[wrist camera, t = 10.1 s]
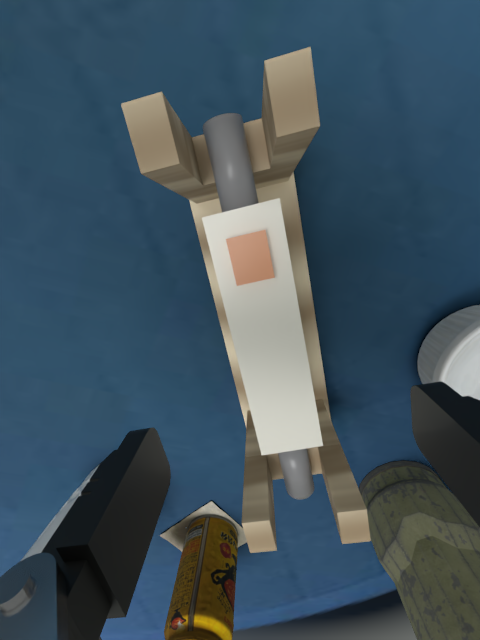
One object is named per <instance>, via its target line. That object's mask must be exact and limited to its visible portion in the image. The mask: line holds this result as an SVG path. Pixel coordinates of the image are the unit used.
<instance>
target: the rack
mask: <svg viewBox="0 0 480 640" xmlns="http://www.w3.org/2000/svg"><path fill="white" fill-rule="evenodd" d="M121 106H122V109H123V113H124V116H125V120H126V123H127V127H128V130H129V134H130V137H131V141H132V144H133V147H134V151H135V154H136V158H137V161H138V165H139V168H140V172H141V174H142V175H144V176H146V177H148V178H150V179H152V180H154V181H155V182H157V183H159V184H161V185H163V186H165V187H167V188H168V189H170V190H172V191H174V192H176V193H178V194H180V195H181V196H183V197H185V198H187V199H189V201H190V205H191V209H192V213H193V217H194V221H195V225H196V229H197V233H198V237H199V241H200V245H201V249H202V253H203V257H204V261H205V265H206V269H207V273H208V277H209V281H210V285H211V289H212V293H213V297H214V301H215V305H216V309H217V313H218V317H219V321H220V325H221V329H222V333H223V337H224V341H225V345H226V349H227V353H228V357H229V361H230V365H231V369H232V373H233V377H234V381H235V385H236V389H237V393H238V397H239V401H240V405H241V409H242V413H243V417H244V421H245V425H246V449H245V469H244V489H243V509H242V526H243V529H244V533H245V536H246V540H247V543H248V546H249V550H250V553H255V552H265V551H276V550H277V545H276V530H275V515H274V500H273V485H272V480H274V479H282V478H284V477H283V473H282V468H281V464H280V460H279V455H278V453H275V454H268V455H261V451H260V447H259V443H258V439H257V435H256V431H255V427H254V423H253V419H252V415H251V411H250V407H249V403H248V399H247V395H246V391H245V387H244V383H243V379H242V375H241V372H240V368H239V364H238V360H237V356H236V352H235V348H234V344H233V340H232V336H231V332H230V328H229V324H228V320H227V316H226V312H225V308H224V304H223V300H222V296H221V292H220V288H219V284H218V280H217V276H216V272H215V268H214V264H213V260H212V256H211V252H210V249H209V245H208V241H207V237H206V233H205V229H204V225H203V221H202V217H206V216H210V215H214V214H218V213H222V209H221V205H220V201H219V196H218V192H217V188H216V183H215V179H214V175H213V170H212V166H211V162H210V157H209V153H208V149H207V144H206V140H205V136H204V134H203V135H200V136H196V137H191V136H190V134H189V133H188V131H187V130H186V128H185V126H184V125H183V123H182V122H181V120H180V119H179V117H178V116H177V114H176V113H175V111H174V110H173V108H172V107H171V105H170V104H169V102H168V101H167V99H166V98H165V96H164V94H163V93H162V92H159V93H155V94H152V95H149V96H145V97H142V98H139V99H135V100H132V101H129V102H125V103H122V104H121ZM243 125H244V130H245V136H246V141H247V146H248V151H249V156H250V161H251V166H252V171H253V176H254V181H255V187H256V192H257V197H258V202H259V203H262V202H266V201H270V200H274V199H278V198H280V203H281V209H282V215H283V220H284V226H285V232H286V237H287V243H288V249H289V254H290V260H291V266H292V271H293V277H294V283H295V288H296V294H297V300H298V305H299V311H300V317H301V323H302V328H303V334H304V340H305V345H306V351H307V357H308V362H309V368H310V374H311V379H312V385H313V391H314V396H315V402H316V408H317V413H318V419H319V425H320V431H321V436H322V442H323V446H319V447H313V448H307V452H308V457H309V462H310V467H311V472H312V475H313V474H321V473H322V474H323V477H324V481H325V484H326V488H327V492H328V495H329V499H330V502H331V506H332V509H333V513H334V517H335V520H336V524H337V527H338V531H339V535H340V538H341V542H342V544H347V543H357V542H368V541H371V540H370V532H369V523H368V515H367V509H366V506H365V504H364V501H363V499H362V496H361V494H360V491H359V489H358V486H357V484H356V481H355V479H354V477H353V474H352V472H351V469H350V467H349V464H348V462H347V459H346V457H345V454H344V452H343V449H342V447H341V444H340V442H339V439H338V437H337V435H336V432H335V430H334V427H333V425H332V422H331V417H330V411H329V404H328V397H327V391H326V384H325V377H324V371H323V364H322V358H321V351H320V344H319V338H318V331H317V324H316V318H315V311H314V304H313V298H312V291H311V285H310V278H309V271H308V265H307V258H306V251H305V245H304V238H303V232H302V225H301V218H300V212H299V205H298V198H297V192H296V185H295V178H294V172H293V171H294V170H295V168H296V166H297V165H298V163H299V161H300V159H301V158H302V156H303V154H304V153H305V151H306V149H307V147H308V146H309V144H310V142H311V141H312V139H313V137H314V135H315V134H316V132H317V130H318V129H319V127H320V121H319V113H318V105H317V97H316V88H315V80H314V72H313V64H312V55H311V47H308V48H305V49H302V50H298V51H295V52H292V53H288V54H285V55H282V56H278V57H275V58H272V59H268V60H265V61H264V79H263V100H262V118H261V119H257V120H254V121H250V122H246V123H243Z"/></svg>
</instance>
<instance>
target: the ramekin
mask: <svg viewBox="0 0 480 640" xmlns="http://www.w3.org/2000/svg"><path fill="white" fill-rule="evenodd" d="M417 364H418V373H419V377H420V379H421V382H422V384H427V383H433V382H439V381H441V382H444V383H446V384H447V385H448V386H449V387H451V388H452V389H453V390H455V391H456V392H457V393H458V394H460V395H461V396H462V397H463V396H470V397H473V398H475V399H478V400H480V305H474V306H471V307H467V308H464V309H462V310H459V311H456V312H455V313H453V314H450V315H449V316H448V317H446V318H444V319H443V320H441V321H440V322H439V323H438V324H436V325H435V327H434V328H433V329H431V331H430V332H429V333H428V335H427V336H426V338H425V340H424V341H423V343H422V346H421V348H420V351H419V354H418V361H417Z"/></svg>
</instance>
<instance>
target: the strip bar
mask: <svg viewBox="0 0 480 640" xmlns="http://www.w3.org/2000/svg"><path fill="white" fill-rule="evenodd" d="M203 132H204V136H205V140H206V144H207V149H208V153H209V157H210V162H211V166H212V170H213V175H214V179H215V183H216V188H217V192H218V196H219V201H220V205H221V209H222V213H218V214H214V215H210V216H206V217H202V221H203V225H204V229H205V233H206V237H207V241H208V245H209V249H210V252H211V256H212V260H213V264H214V268H215V272H216V276H217V280H218V284H219V288H220V292H221V296H222V300H223V304H224V308H225V312H226V316H227V320H228V324H229V328H230V332H231V336H232V340H233V344H234V348H235V352H236V356H237V360H238V364H239V368H240V372H241V375H242V379H243V383H244V387H245V391H246V395H247V399H248V403H249V407H250V411H251V415H252V419H253V423H254V427H255V431H256V435H257V439H258V443H259V447H260V451H261V455H268V454H275V453H278V455H279V460H280V464H281V468H282V473H283V477H284V481H285V485H286V490H287V492H288V494H289V495H290V496H291V497H293V498H295V499H305V498H308V497H309V496H310V495H311V494H312V493H313V491H314V482H313V477H312V472H311V467H310V462H309V457H308V452H307V448H313V447H319V446H323V442H322V436H321V431H320V425H319V419H318V413H317V408H316V402H315V396H314V391H313V385H312V379H311V374H310V368H309V362H308V357H307V351H306V345H305V340H304V334H303V328H302V323H301V317H300V311H299V305H298V300H297V294H296V288H295V283H294V277H293V271H292V266H291V260H290V254H289V249H288V243H287V237H286V232H285V226H284V220H283V215H282V209H281V203H280V198H278V199H274V200H270V201H266V202H262V203H259V202H258V197H257V192H256V187H255V181H254V176H253V171H252V166H251V161H250V156H249V151H248V146H247V141H246V136H245V130H244V125H243V120H242V116H241V115H239V114H236V113H227V114H222V115H218V116H216V117H213V118H211V119H209V120H208V121H207V122H205V124H204V125H203Z"/></svg>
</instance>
